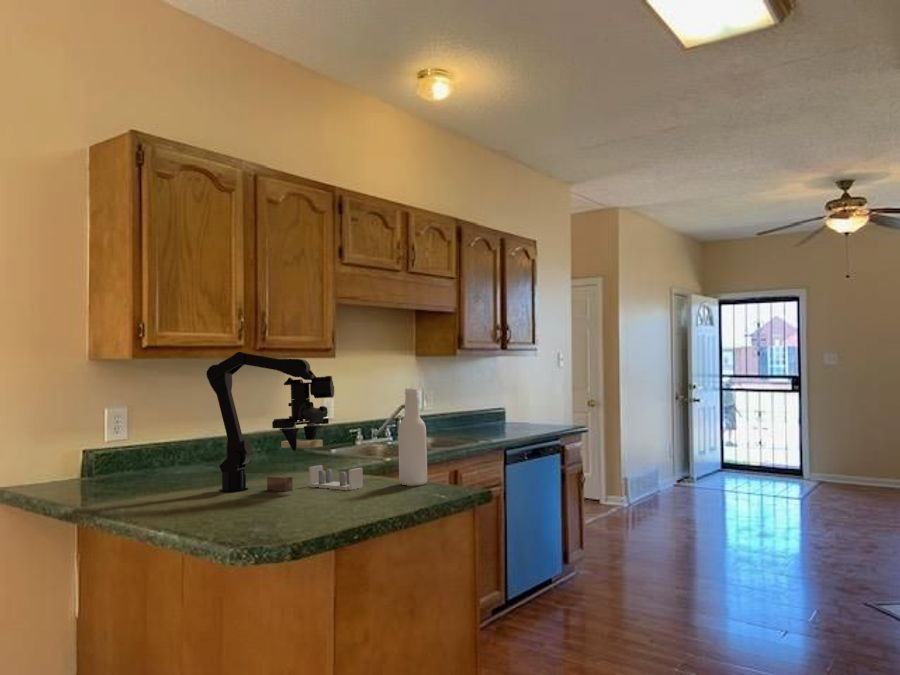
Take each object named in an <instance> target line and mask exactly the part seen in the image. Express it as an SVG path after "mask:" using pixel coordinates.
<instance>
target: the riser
mask: <svg viewBox="0 0 900 675" xmlns="http://www.w3.org/2000/svg"><path fill="white" fill-rule="evenodd" d="M266 491H277V492H285V493H286V492H291V491H293V476H285V475H270V476H267V477H266Z"/></svg>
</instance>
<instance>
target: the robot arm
mask: <svg viewBox="0 0 900 675" xmlns="http://www.w3.org/2000/svg"><path fill="white" fill-rule="evenodd" d="M244 366H251V367H256V368H262V369H268V370H273V371H277V372H280V373H283V374H285V375H288V376H292V377H293V378H292V377H288V378H287V379H286V381H284V383H283V385H284V386H290V402H289V403H288V404H287V405H288V407H290V410H291V415H289V416H288V417H285V418H274V419H273V421H272V423H271V425H272V429H278V430H279V431H281V433H282V434H283V435H284V437H285V438H286V441H288V442H289V444H290V446H291V448H290V449H291V450H292V451H293V452H295V451H296V452H297V448H296V440H297V433H298V431H299V430H300V428H299V427H297V426H299V425H301V426H302V425H303V431H304V436H305V440H315V438H316V435H317V432H318V431H319V429H321V428H323V427H324V425H328V424H329V417H328V407H327V406H325V405H323V406H322V405H321V406H319V407H315V406H314V403H313V401H311V400H310V398H311V396H313V398H314V399H327V398H330V399H331V398H334V396H335V385H334V381H333V376H331V375H326V376H325V375H324V376H316V375H315V373H314V372H313V371H312V370H311V365H310V363H309V361H307V360H306V359H303V358H275V357H271V356H264V355H259V354H252V353H247V352H244V351H237V352H235V353H234V354H232V356H230V357H228V358H226V359H225V360H222V361H221V362H219V363H217V364H212V365H211V366H209V367H208V369H207V370H206V375H205V376H206V378H207V380H208V383H209V385H210V387H211V388H212V391H213V392H214V393H215V394H216V397H217V402H218V405H219V410H220V413H221V417H222V420H223V425H224V429H225V434H226V438H227V441H226V458H225V459H224V460H223V462H221V463H220V464H219V470H220V472H221V488H220V489H218V492H226V493H234V492H239V491H246V490H249V487H247V474H246V472H245V471H246V467H247V463H249V462H251V459H252V457H253V453H252V452H254V449H253V448H252V442H251V438H248V439H246V438H245V437H244V434H243V433H242V428H241V424H240V421H239V418H238V414H237V409H236V404H235V401H234V396H233V392H232V387H233V375H234V374H236V373H237V372H238V371H239V370H240V369H241V368H242V367H244ZM294 378H300V379H294ZM304 381H307V382H304ZM310 381H311V382H310ZM310 395H311V396H310ZM307 449H309V450H311V449H312V448H307Z"/></svg>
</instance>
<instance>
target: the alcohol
mask: <svg viewBox="0 0 900 675" xmlns="http://www.w3.org/2000/svg"><path fill="white" fill-rule="evenodd" d="M418 390H419V389H418V388H416V387H415V388H412V387H411V388H405V389H404V396H405V397H404V398H405V399H404V400H405V401H404V413H403V414H404V415H403V418H402V419H401V421H400V423H399V424H398V428H397V434H398V438H397V439H398V441H397V442H398V477H399V478H398V480H399V484H400V485H401V484H402V485H401V486H403V485H407V486H406V487H418V486H425V485H426V484H427V482H428V455H427V454H428V453H427V452H428V451H427V427H426V426H427V425H426V423H425V421H424V420H423V419H422V417H421V415H420V410H419V409H420V408H419V399H418Z"/></svg>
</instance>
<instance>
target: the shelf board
mask: <svg viewBox="0 0 900 675" xmlns="http://www.w3.org/2000/svg"><path fill="white" fill-rule="evenodd" d="M280 446H281V449H292V448H291V446H290V444H289V442H288V440H282V441H280ZM320 447H324V439H314V440H306V439H296V449H308V448H311V449H313V448H320Z"/></svg>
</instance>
